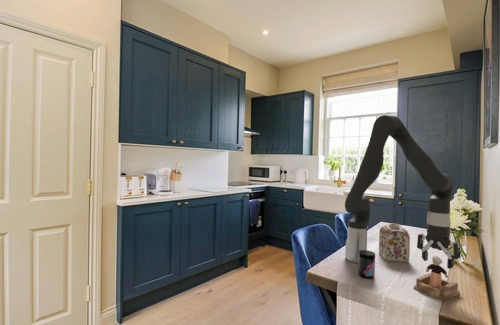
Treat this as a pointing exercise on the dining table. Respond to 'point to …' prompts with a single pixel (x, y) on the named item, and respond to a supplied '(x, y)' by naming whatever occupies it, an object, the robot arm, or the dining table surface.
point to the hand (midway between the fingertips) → (437, 264)
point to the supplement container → (366, 264)
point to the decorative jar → (394, 243)
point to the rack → (444, 294)
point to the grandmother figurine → (436, 273)
